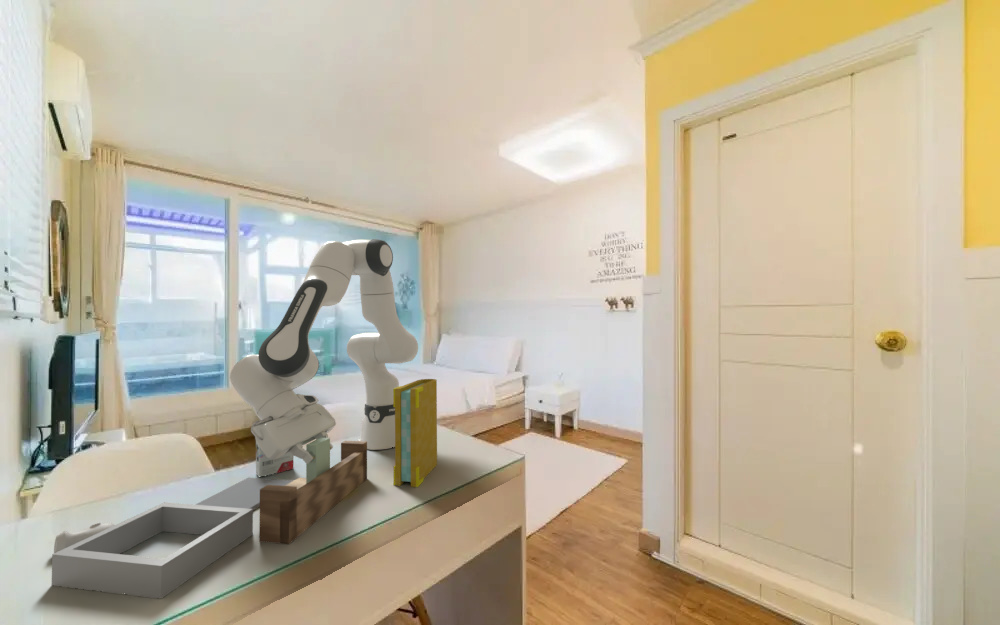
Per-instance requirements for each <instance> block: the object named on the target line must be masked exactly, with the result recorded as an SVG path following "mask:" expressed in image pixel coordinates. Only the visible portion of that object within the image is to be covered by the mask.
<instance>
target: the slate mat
mask: <svg viewBox="0 0 1000 625" xmlns="http://www.w3.org/2000/svg"><path fill="white" fill-rule="evenodd" d="M294 480H295V479H277V478H264V477H261V478H259V477H247V478H245V479H242V480H241V481H239V482H237V483H235V484H233V485H231V486H228V487H227V488H225V489H223V490H221V491H219V492H218V493H214V494H213V495H211V496H210V497H209V496H208V497H207V498H205V499H203V500H202V501H200V502H198V503H195V504H194V505H206V506H219V507H233V508H246V509H253V511H255V510H257V509H258V508H260V489H261V488H263V487H265V486H267V485H279V486H285V485H287V484H289V483H290V482H292V481H294ZM256 508H257V509H256Z"/></svg>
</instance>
